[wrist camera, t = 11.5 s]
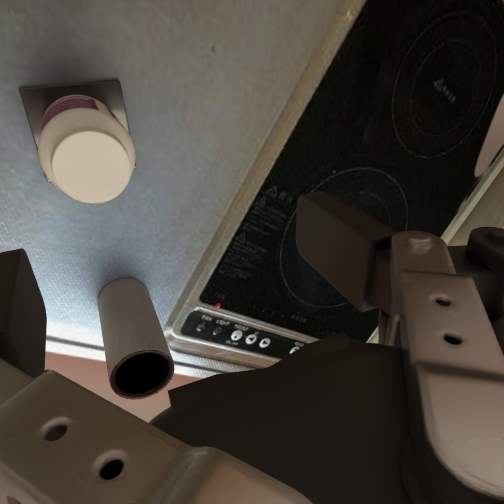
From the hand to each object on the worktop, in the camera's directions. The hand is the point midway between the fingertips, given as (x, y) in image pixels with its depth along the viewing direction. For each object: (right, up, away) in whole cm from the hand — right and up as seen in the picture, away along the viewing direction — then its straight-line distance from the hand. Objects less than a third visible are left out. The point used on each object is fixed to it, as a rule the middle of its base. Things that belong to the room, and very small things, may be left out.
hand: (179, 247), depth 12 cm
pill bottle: (-10, +9, +17) cm, 22 cm away
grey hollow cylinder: (-10, -4, +25) cm, 27 cm away
